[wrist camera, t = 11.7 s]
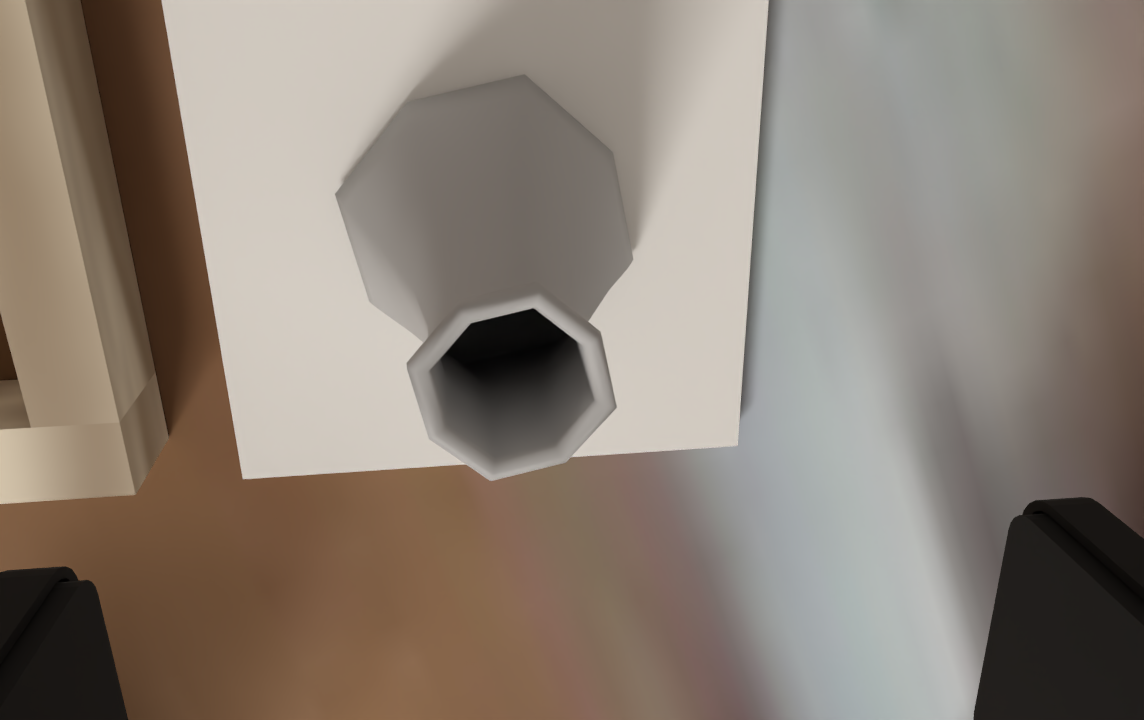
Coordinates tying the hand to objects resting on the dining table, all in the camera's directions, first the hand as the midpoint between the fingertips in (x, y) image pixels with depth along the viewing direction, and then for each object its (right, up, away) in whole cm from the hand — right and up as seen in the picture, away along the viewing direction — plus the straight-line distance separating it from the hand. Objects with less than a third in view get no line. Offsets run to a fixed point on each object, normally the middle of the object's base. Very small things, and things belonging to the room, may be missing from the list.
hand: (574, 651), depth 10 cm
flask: (-2, +6, +14) cm, 16 cm away
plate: (-2, +7, +15) cm, 16 cm away
